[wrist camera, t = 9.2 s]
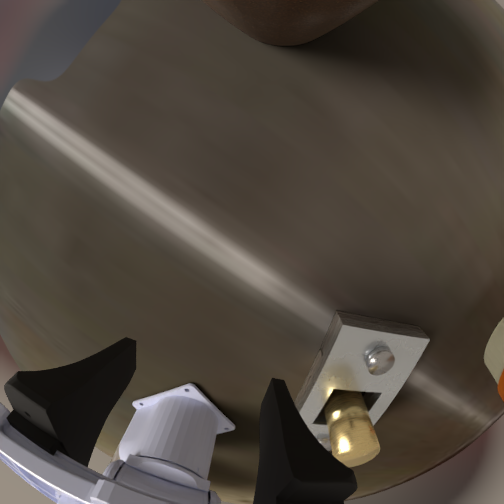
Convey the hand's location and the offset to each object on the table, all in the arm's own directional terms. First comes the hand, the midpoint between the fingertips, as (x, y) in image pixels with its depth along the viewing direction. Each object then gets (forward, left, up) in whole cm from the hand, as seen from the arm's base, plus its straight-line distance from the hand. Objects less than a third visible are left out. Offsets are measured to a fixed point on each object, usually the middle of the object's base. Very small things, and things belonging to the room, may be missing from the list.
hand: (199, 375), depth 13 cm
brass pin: (+4, -15, -9) cm, 18 cm away
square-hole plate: (+4, -15, -9) cm, 18 cm away
